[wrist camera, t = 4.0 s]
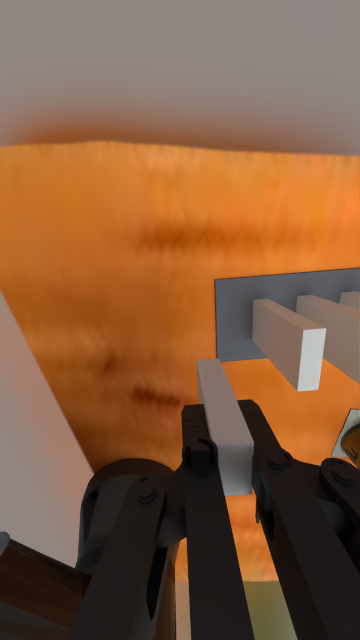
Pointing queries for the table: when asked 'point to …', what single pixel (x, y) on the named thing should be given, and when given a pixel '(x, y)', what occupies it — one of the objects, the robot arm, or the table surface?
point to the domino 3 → (350, 299)
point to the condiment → (350, 439)
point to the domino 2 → (335, 331)
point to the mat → (282, 289)
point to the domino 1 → (289, 343)
